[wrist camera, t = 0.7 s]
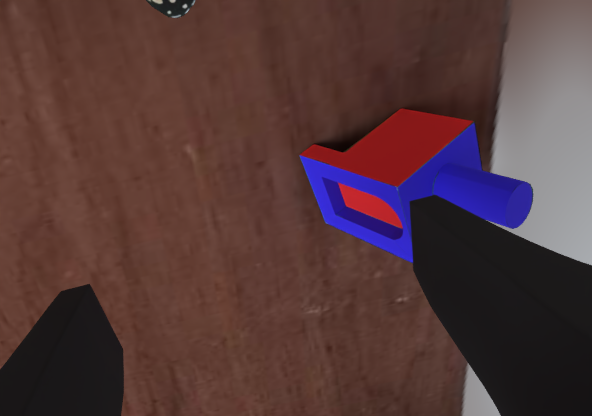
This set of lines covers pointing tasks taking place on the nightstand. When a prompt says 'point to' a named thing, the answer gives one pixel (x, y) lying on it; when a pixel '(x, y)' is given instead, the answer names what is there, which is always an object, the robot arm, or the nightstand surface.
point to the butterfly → (172, 7)
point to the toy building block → (409, 179)
